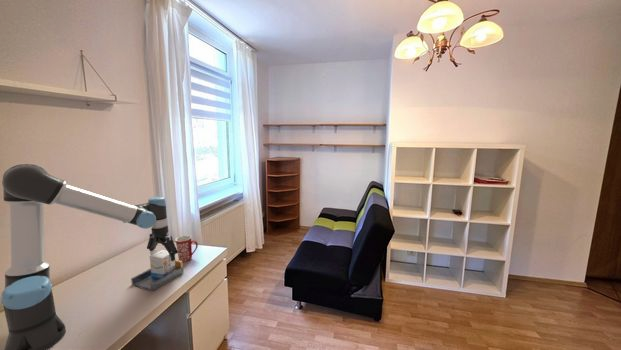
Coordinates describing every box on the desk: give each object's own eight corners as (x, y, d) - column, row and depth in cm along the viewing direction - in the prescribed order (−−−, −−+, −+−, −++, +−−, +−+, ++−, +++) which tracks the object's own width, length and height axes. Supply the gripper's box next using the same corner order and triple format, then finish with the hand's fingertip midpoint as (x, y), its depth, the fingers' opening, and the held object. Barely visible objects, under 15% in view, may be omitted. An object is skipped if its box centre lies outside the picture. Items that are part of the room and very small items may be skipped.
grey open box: (152, 291, 123) (151, 278, 121) (131, 284, 128) (130, 272, 127) (183, 272, 139) (182, 261, 138) (163, 267, 145) (162, 256, 143)
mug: (173, 262, 151) (171, 241, 148) (181, 255, 159) (180, 235, 157) (194, 262, 150) (193, 241, 148) (201, 255, 159) (200, 235, 157)
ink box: (163, 279, 131) (161, 258, 129) (151, 276, 133) (148, 256, 132) (176, 270, 139) (174, 251, 137) (164, 268, 142) (162, 249, 140)
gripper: (183, 226, 131) (186, 264, 135) (150, 221, 140) (153, 256, 144) (170, 231, 124) (174, 271, 128) (136, 225, 134) (140, 262, 137)
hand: (163, 263), depth 136 cm, fingers open, 13 cm apart
